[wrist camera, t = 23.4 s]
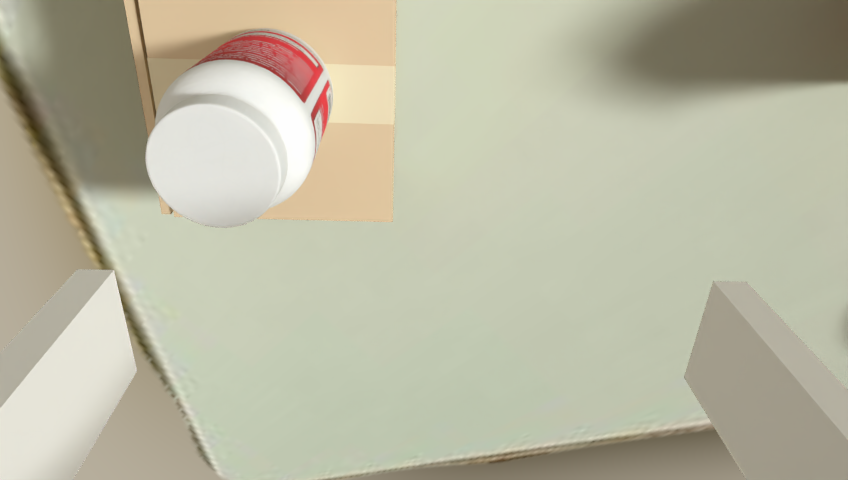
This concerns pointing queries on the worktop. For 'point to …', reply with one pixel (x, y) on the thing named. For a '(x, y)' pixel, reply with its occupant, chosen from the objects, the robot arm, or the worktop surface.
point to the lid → (348, 68)
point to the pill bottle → (240, 128)
